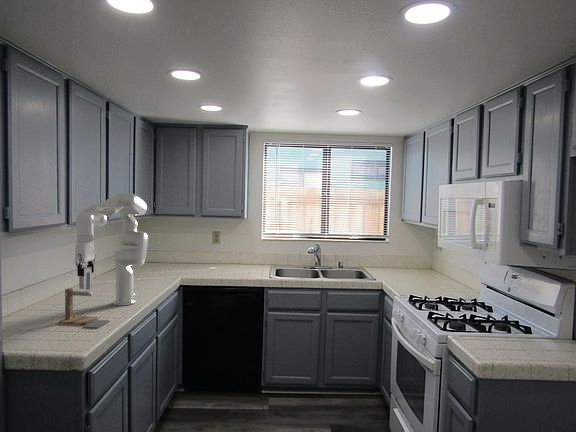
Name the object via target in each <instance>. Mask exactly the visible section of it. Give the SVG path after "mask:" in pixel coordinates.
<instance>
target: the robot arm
mask: <svg viewBox="0 0 576 432" xmlns="http://www.w3.org/2000/svg"><path fill="white" fill-rule="evenodd" d="M147 205H148V204H147V203H146V202H145V201H144V200H143V199H142V198H140V197H139V196H138V195H136V194H134V193H129V192H128V193H127V192H126V193H124V192H122V193H120V192H119V193H115V194H112V195H111V196H110V197H109V198H108V199H106V200H104V201H103V202H99V203H96V204H94V205H90V206H88V207H85V208H84V209H82V210H81V211H80V212H78V214H77V215H76V218H75V219H76V220H75V221H76V244H75V252H74V263H75V266H76V269H77V270H76V271H77V277H79V276H84V266H85V263H87V264H86V267H88V266H89V267H92V274H94V272H95V266H94V265H95V261H96V256H97V255H96V254H95V244H94V243H95V242H94V241H95V231H94V228H103V227H104V226H105V225H106V224H107V223H108V217H109V218H110V217H112V216H114V215H116V214H117V213H118V214H119V216H120V218H121V222H122V223H121V230H120V236H119V245H120V246H122V247H124V248H122V249H121V248H120V249H118V250H116V251H115V252H114V254H113V261H114V266H115V300H113V301H112V304H113V305H114V306H122V307H123V306H131V305H134V304H136V303H137V299H134V297H136V293H135V292H134V271H133V268H132V267H142V266H143V265H144V264H145V261H146V258H147V253H148V245H149V236H148V234H147V232H145V231H140V230H138V226H139V225H138V220H137V219H136V217H135V216H143V215H145V214H146V213H147V210H148V206H147ZM131 248H132V249H131ZM135 248H136V249H135Z"/></svg>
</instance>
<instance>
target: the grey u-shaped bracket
mask: <svg viewBox="0 0 576 432" xmlns="http://www.w3.org/2000/svg"><path fill="white" fill-rule="evenodd" d="M83 268H84V276H78V279H79V283H78V285H79V286H78V287H79V290H87V291H89V290H92V289H93V273H92V267H89V266H88V267H87V266H85V267H83Z"/></svg>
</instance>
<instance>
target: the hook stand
mask: <svg viewBox="0 0 576 432" xmlns="http://www.w3.org/2000/svg"><path fill="white" fill-rule="evenodd" d="M73 296H81V297H92V296H93V292H92V291H78V290H77V291H74V288H66V289H65V290H64V297H65V298H64V302H65V303H64V309H65V310H64V314H65V315H64V317H65V318H63V319H61V320H59V321H58V325H73V326H74V325H75V326H76V325H77V326H85V325H87V324H88V323H90V322H92V321H94V320H99V319H98V316H87V315H86V316H85V315H74V313H73V312H74V311H73V310H74V309H73V307H74V305H73V303H74V299H73Z"/></svg>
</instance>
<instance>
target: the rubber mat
mask: <svg viewBox="0 0 576 432" xmlns="http://www.w3.org/2000/svg"><path fill="white" fill-rule="evenodd" d="M108 323H110V320H107V319H106V320H105V319H104V320H103V319H97V320H94V321H92V322H90V323H88V324H87V325H82V329H100V328H102V327H103V326H105V325H107V324H108Z"/></svg>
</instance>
